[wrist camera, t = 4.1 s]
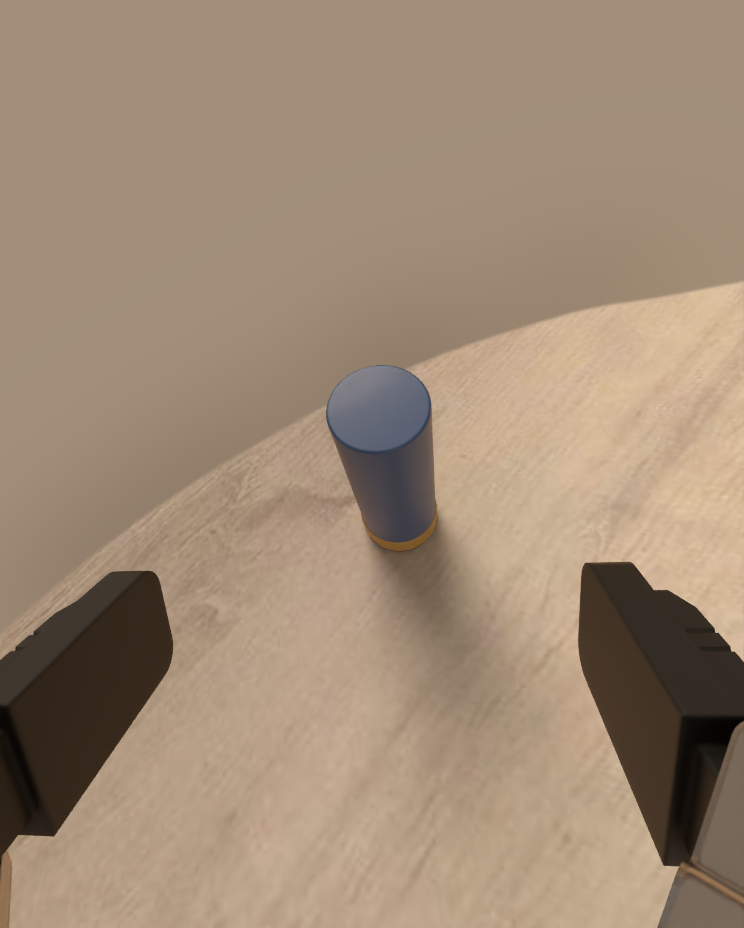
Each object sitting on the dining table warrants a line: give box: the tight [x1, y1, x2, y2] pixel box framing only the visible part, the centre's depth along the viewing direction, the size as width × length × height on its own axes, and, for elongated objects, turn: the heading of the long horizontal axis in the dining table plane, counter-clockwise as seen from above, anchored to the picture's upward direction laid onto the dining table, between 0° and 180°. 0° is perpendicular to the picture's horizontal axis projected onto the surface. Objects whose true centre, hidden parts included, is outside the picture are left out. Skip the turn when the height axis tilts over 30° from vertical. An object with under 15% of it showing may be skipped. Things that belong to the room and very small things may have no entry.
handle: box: [326, 365, 437, 551], centre depth 18 cm, size 3×3×8 cm
